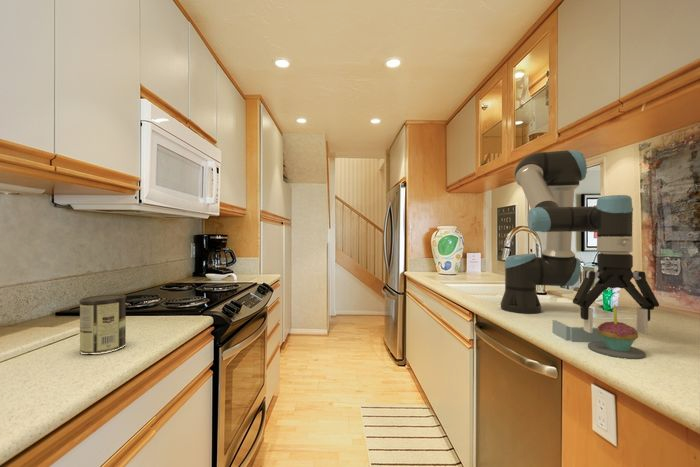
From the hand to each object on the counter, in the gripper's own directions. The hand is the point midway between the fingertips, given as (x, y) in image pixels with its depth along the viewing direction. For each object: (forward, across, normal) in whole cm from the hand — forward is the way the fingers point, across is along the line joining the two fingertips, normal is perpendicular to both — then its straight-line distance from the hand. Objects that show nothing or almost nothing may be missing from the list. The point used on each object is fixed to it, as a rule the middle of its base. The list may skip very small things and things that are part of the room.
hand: (615, 332), depth 90 cm
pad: (+5, 0, 0) cm, 5 cm away
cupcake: (+4, 0, 0) cm, 5 cm away
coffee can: (+5, -138, -11) cm, 139 cm away
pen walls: (+5, 0, +12) cm, 13 cm away
